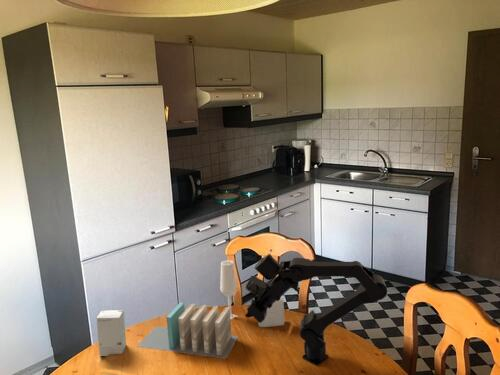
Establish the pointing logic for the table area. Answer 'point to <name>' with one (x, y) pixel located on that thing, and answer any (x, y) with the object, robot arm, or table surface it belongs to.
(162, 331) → the domino board
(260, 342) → the table surface
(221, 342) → the domino
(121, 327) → the skincare box
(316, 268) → the robot arm
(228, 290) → the champagne flute
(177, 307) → the domino
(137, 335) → the table surface
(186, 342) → the domino
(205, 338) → the domino
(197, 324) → the domino
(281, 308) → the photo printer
